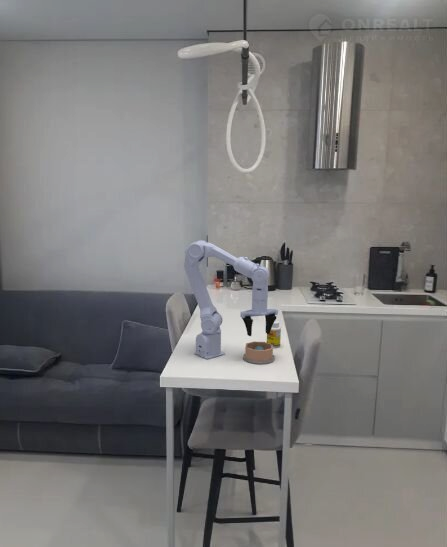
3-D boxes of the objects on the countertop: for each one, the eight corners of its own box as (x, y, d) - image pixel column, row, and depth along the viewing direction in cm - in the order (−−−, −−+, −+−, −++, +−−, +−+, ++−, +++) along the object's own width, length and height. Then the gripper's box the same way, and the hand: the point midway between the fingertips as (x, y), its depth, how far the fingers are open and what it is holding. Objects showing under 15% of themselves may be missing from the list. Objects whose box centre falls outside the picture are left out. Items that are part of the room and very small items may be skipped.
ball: (258, 359, 171) (258, 349, 170) (251, 356, 174) (251, 346, 173) (266, 356, 173) (266, 346, 172) (259, 353, 176) (259, 343, 175)
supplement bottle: (263, 345, 189) (264, 321, 187) (273, 342, 192) (274, 319, 190) (272, 349, 184) (273, 324, 183) (282, 346, 188) (284, 322, 186)
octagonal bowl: (258, 366, 165) (258, 353, 164) (236, 357, 174) (236, 344, 173) (281, 359, 173) (281, 347, 172) (259, 351, 182) (259, 338, 181)
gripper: (246, 303, 164) (245, 339, 166) (282, 300, 169) (280, 335, 171) (238, 298, 170) (237, 333, 172) (273, 296, 175) (272, 330, 178)
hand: (258, 334), depth 172 cm, fingers open, 7 cm apart
